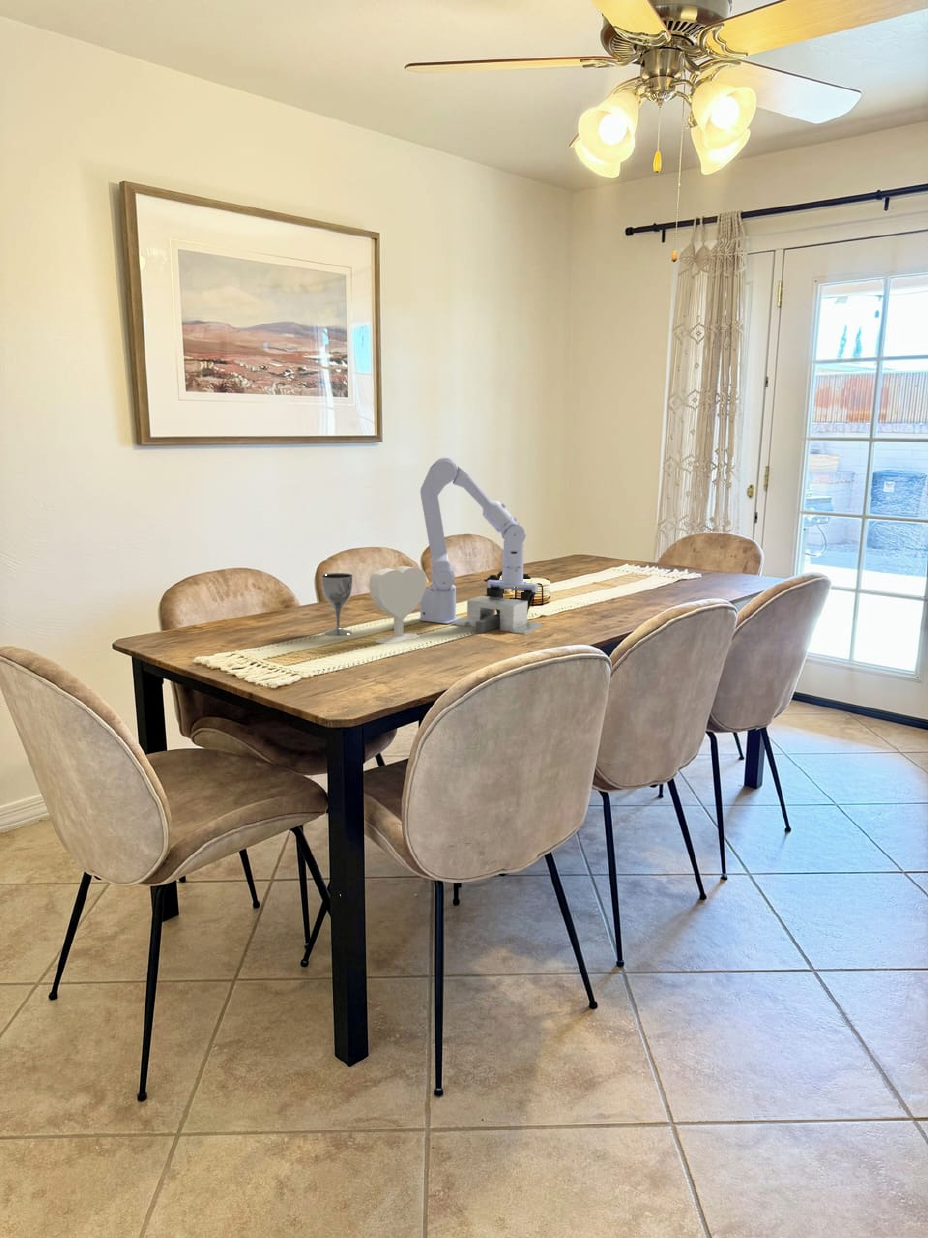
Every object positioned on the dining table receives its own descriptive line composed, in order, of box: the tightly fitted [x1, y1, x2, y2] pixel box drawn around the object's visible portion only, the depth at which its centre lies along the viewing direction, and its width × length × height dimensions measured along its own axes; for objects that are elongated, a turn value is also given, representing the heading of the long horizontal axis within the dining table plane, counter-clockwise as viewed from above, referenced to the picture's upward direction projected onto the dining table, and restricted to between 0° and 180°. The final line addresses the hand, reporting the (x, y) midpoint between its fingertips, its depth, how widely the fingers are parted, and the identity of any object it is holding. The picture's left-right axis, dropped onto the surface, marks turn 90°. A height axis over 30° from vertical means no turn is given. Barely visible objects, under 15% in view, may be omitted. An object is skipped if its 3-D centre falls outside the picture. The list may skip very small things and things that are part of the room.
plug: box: [475, 613, 500, 634], centre depth 235 cm, size 4×20×4 cm, turn 149°
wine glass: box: [320, 572, 354, 637], centre depth 225 cm, size 8×8×15 cm
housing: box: [452, 595, 543, 635], centre depth 235 cm, size 22×10×7 cm, turn 59°
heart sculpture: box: [368, 565, 428, 645], centre depth 219 cm, size 16×5×18 cm, turn 133°
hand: (511, 615), depth 242 cm, fingers open, 7 cm apart
